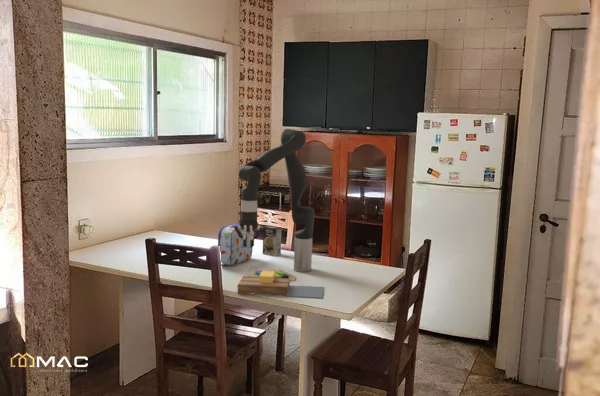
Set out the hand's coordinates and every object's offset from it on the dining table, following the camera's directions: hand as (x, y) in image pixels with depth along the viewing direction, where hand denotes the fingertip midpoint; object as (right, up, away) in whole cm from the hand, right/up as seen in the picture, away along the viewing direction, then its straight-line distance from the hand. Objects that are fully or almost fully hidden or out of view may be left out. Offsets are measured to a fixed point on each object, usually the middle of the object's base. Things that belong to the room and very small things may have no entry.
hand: (248, 247), depth 253 cm
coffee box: (+7, -10, +68) cm, 69 cm away
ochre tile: (+9, -14, +1) cm, 16 cm away
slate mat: (+26, -20, -2) cm, 33 cm away
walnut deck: (+7, -19, 0) cm, 21 cm away
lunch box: (-11, -12, +48) cm, 51 cm away
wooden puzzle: (+10, -18, +19) cm, 28 cm away
